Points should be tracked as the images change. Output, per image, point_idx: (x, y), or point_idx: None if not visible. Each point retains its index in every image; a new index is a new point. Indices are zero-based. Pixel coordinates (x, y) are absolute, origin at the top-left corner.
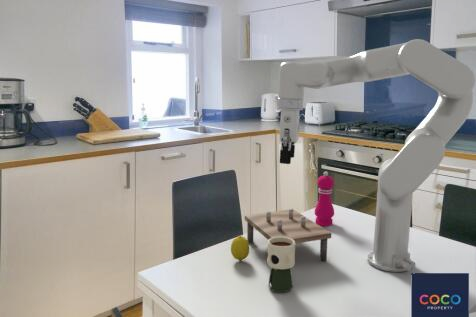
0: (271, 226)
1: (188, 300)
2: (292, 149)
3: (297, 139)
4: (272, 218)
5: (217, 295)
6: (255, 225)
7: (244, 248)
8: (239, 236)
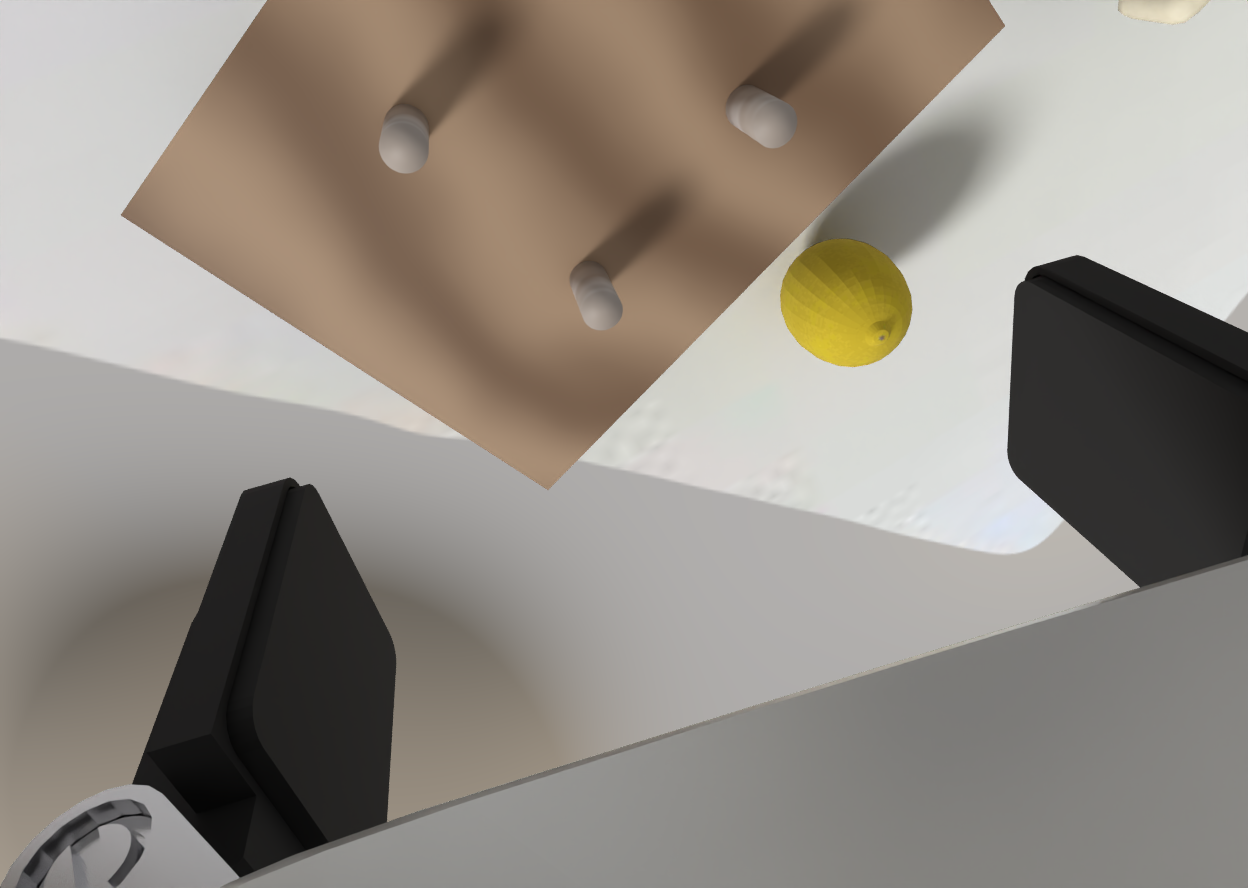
0: (698, 203)
1: (1231, 275)
2: (288, 656)
3: (1053, 716)
4: (506, 278)
5: (1186, 185)
6: (698, 330)
7: (892, 263)
8: (888, 337)
